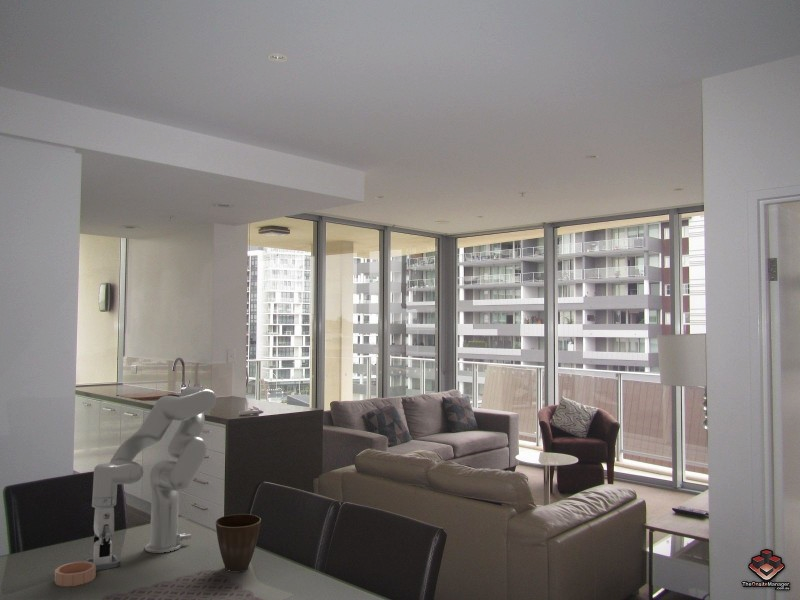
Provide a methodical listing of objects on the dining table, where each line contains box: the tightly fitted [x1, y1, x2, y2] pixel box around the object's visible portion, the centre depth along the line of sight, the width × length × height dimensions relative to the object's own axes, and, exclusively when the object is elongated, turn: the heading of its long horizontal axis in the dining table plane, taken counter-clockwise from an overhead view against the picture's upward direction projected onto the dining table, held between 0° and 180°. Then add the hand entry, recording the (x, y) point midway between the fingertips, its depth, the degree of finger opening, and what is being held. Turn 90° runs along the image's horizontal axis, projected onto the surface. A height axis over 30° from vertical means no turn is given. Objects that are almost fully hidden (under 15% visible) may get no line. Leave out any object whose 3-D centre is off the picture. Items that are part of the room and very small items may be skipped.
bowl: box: [54, 560, 97, 587], centre depth 203 cm, size 11×11×4 cm
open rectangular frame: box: [83, 553, 121, 572], centre depth 215 cm, size 10×9×2 cm
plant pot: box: [215, 513, 262, 572], centre depth 215 cm, size 15×15×16 cm
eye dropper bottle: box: [92, 538, 113, 565], centre depth 215 cm, size 4×6×12 cm
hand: (101, 552), depth 215 cm, fingers open, 9 cm apart
